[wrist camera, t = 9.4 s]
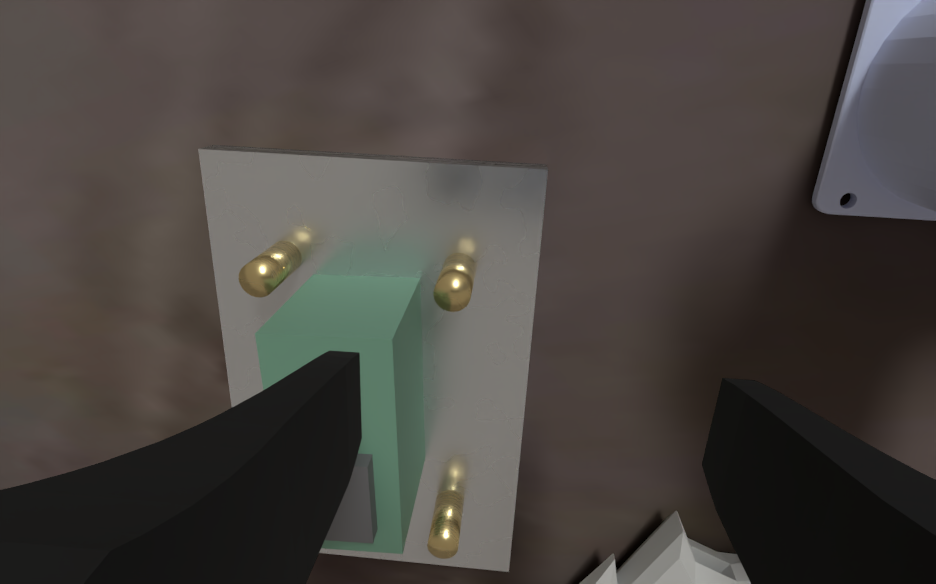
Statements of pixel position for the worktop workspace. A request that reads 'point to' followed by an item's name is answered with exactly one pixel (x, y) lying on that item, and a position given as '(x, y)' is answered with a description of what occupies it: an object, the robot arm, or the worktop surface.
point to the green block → (363, 393)
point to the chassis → (442, 304)
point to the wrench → (671, 561)
